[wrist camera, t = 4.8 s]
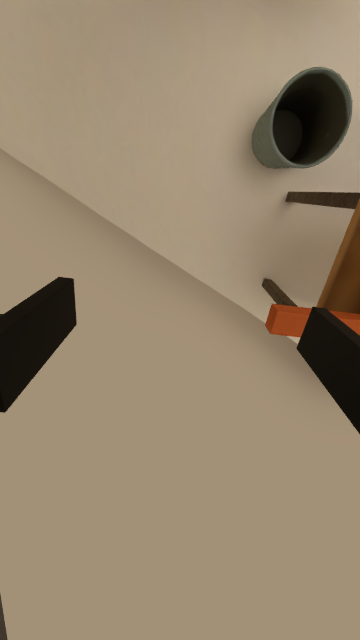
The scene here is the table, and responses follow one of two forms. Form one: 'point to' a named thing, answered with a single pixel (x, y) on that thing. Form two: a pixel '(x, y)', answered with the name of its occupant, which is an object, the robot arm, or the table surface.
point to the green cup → (304, 121)
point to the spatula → (301, 320)
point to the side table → (349, 266)
